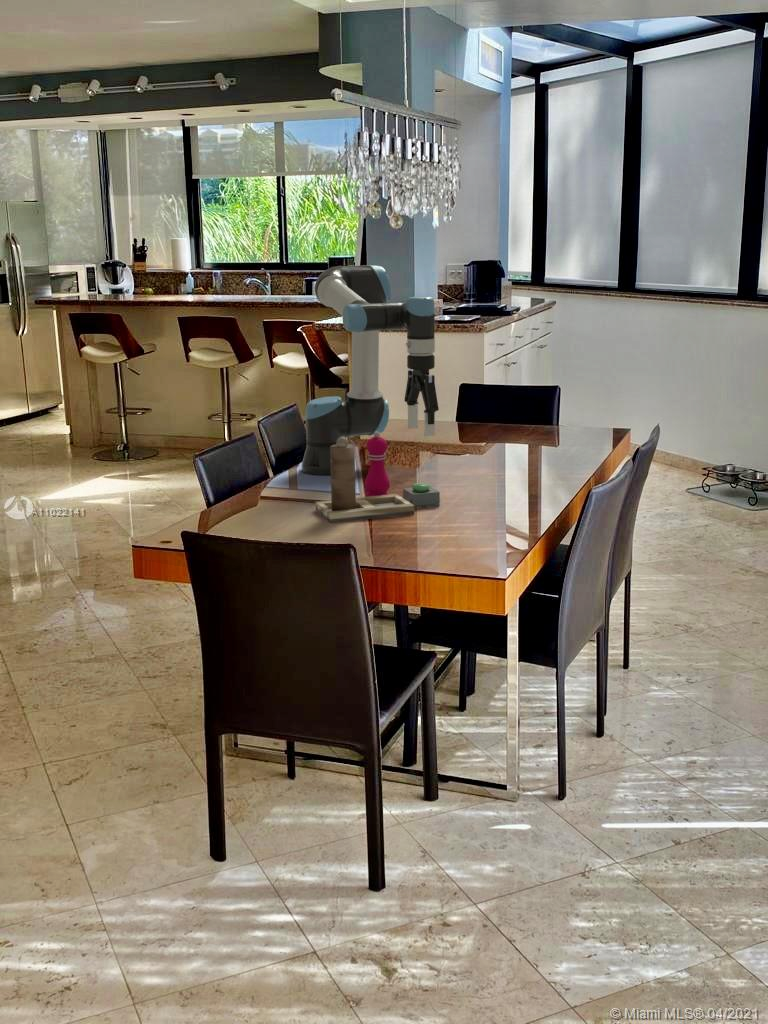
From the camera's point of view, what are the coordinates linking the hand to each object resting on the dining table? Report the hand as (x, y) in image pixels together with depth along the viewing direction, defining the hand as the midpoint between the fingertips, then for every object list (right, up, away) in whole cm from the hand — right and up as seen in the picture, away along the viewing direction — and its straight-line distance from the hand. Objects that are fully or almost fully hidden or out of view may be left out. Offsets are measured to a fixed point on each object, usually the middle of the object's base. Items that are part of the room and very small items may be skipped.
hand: (421, 431), depth 297 cm
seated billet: (-21, -23, -5) cm, 32 cm away
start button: (0, -19, +5) cm, 19 cm away
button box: (0, -20, +5) cm, 21 cm away
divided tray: (-16, -22, -3) cm, 28 cm away
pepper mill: (-12, -19, +10) cm, 25 cm away
